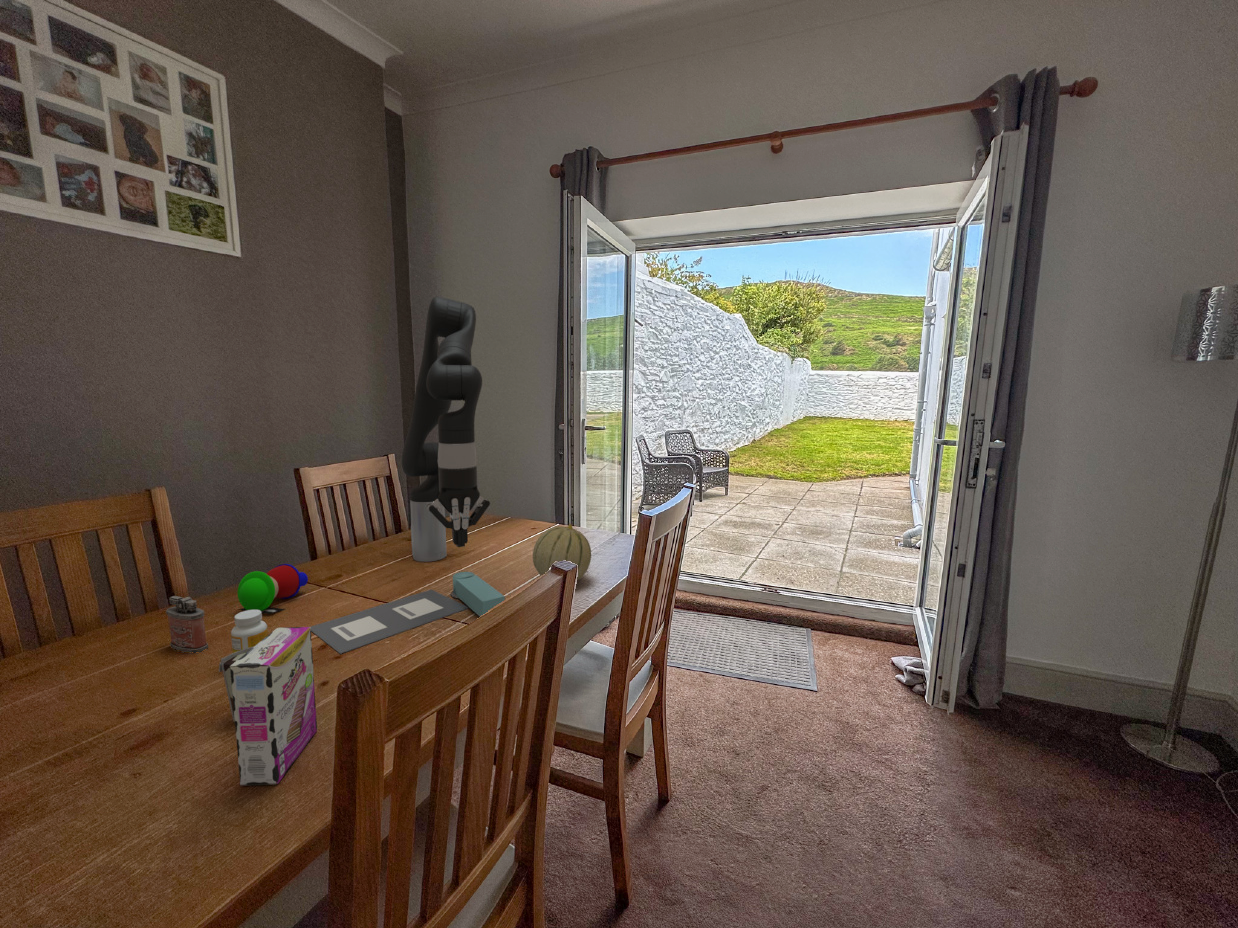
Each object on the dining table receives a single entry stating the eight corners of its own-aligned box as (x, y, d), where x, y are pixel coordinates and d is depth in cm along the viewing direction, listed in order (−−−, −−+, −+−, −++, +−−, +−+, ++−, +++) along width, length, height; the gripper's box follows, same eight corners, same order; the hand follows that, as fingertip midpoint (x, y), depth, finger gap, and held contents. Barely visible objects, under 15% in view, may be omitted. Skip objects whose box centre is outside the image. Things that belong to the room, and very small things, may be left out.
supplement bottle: (229, 674, 95) (224, 622, 93) (240, 659, 100) (235, 609, 98) (265, 669, 96) (260, 618, 95) (274, 655, 101) (269, 606, 100)
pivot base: (446, 594, 131) (446, 592, 131) (467, 587, 135) (467, 585, 135) (460, 600, 127) (460, 598, 127) (482, 593, 131) (482, 591, 131)
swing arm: (483, 619, 116) (482, 601, 115) (450, 590, 131) (449, 574, 131) (505, 613, 119) (504, 596, 118) (470, 585, 134) (469, 570, 134)
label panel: (307, 628, 112) (307, 627, 112) (431, 590, 133) (431, 589, 133) (340, 654, 102) (340, 652, 102) (469, 608, 123) (469, 607, 123)
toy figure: (279, 602, 131) (226, 617, 116) (277, 562, 132) (225, 573, 117) (313, 600, 130) (265, 616, 115) (311, 560, 131) (263, 571, 116)
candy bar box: (280, 785, 69) (269, 665, 67) (239, 787, 69) (225, 666, 66) (320, 729, 80) (312, 624, 78) (285, 731, 80) (275, 625, 77)
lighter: (213, 647, 104) (207, 597, 103) (194, 655, 101) (188, 604, 100) (184, 640, 107) (178, 591, 105) (165, 648, 104) (159, 598, 102)
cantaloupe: (522, 588, 135) (520, 529, 133) (551, 569, 148) (550, 515, 146) (575, 597, 130) (575, 536, 127) (600, 577, 143) (600, 521, 141)
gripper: (427, 469, 105) (430, 555, 107) (494, 464, 111) (496, 546, 114) (420, 463, 111) (424, 545, 114) (484, 459, 118) (486, 537, 120)
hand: (460, 545), depth 114 cm, fingers closed
